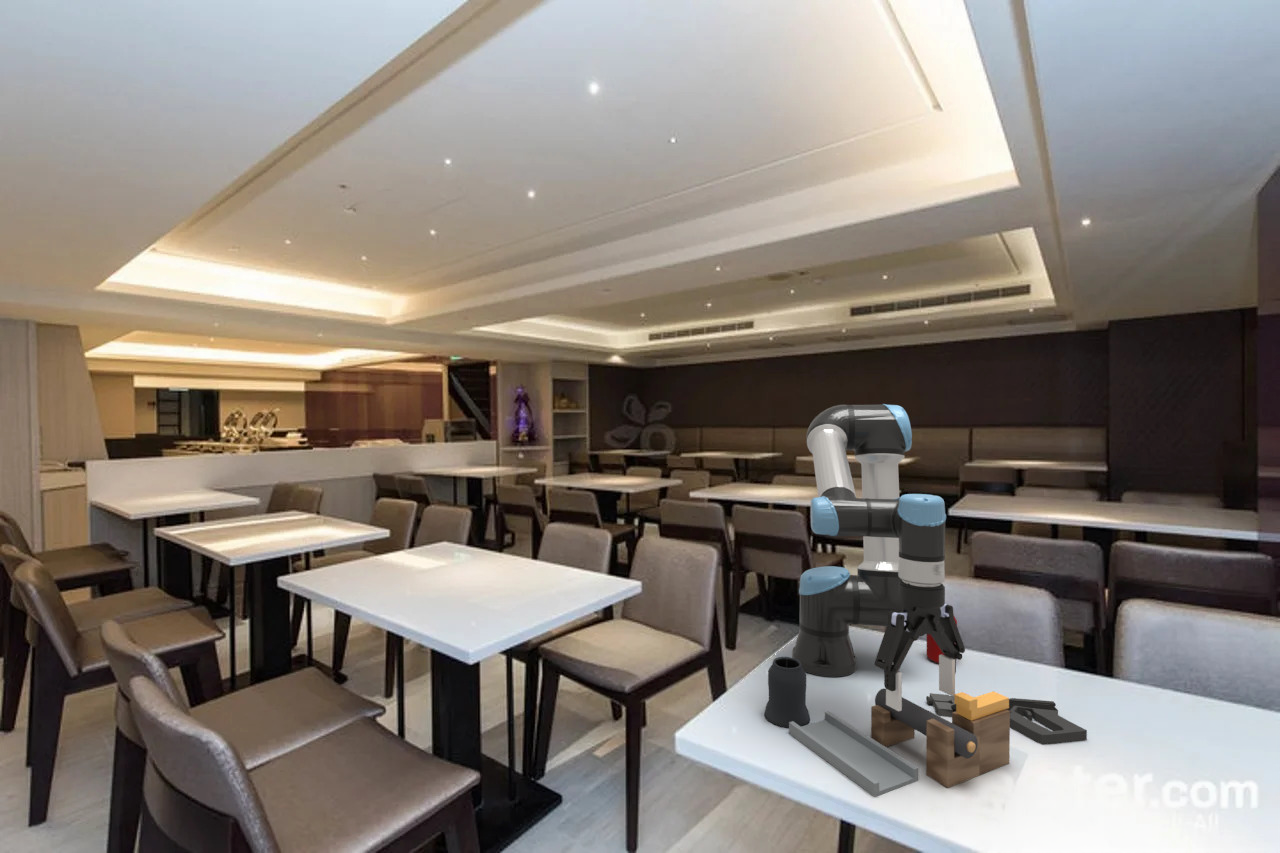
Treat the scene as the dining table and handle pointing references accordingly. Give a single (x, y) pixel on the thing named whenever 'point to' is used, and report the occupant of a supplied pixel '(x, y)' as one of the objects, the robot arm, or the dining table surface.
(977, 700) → the notched orange block
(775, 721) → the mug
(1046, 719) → the pistol
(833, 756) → the grey open channel
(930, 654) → the beverage can
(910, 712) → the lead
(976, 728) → the notched wooden block
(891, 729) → the rest
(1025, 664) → the dining table surface
